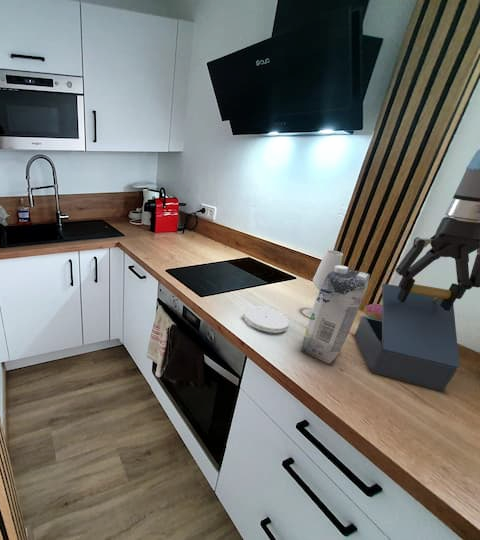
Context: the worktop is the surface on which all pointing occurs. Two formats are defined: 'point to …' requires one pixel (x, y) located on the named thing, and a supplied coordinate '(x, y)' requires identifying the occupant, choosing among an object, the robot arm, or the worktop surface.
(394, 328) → the lid
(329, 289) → the juice carton
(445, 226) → the robot arm
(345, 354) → the worktop surface
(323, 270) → the champagne flute
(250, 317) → the plastic lid
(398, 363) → the chest
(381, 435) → the worktop surface
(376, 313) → the cupcake
